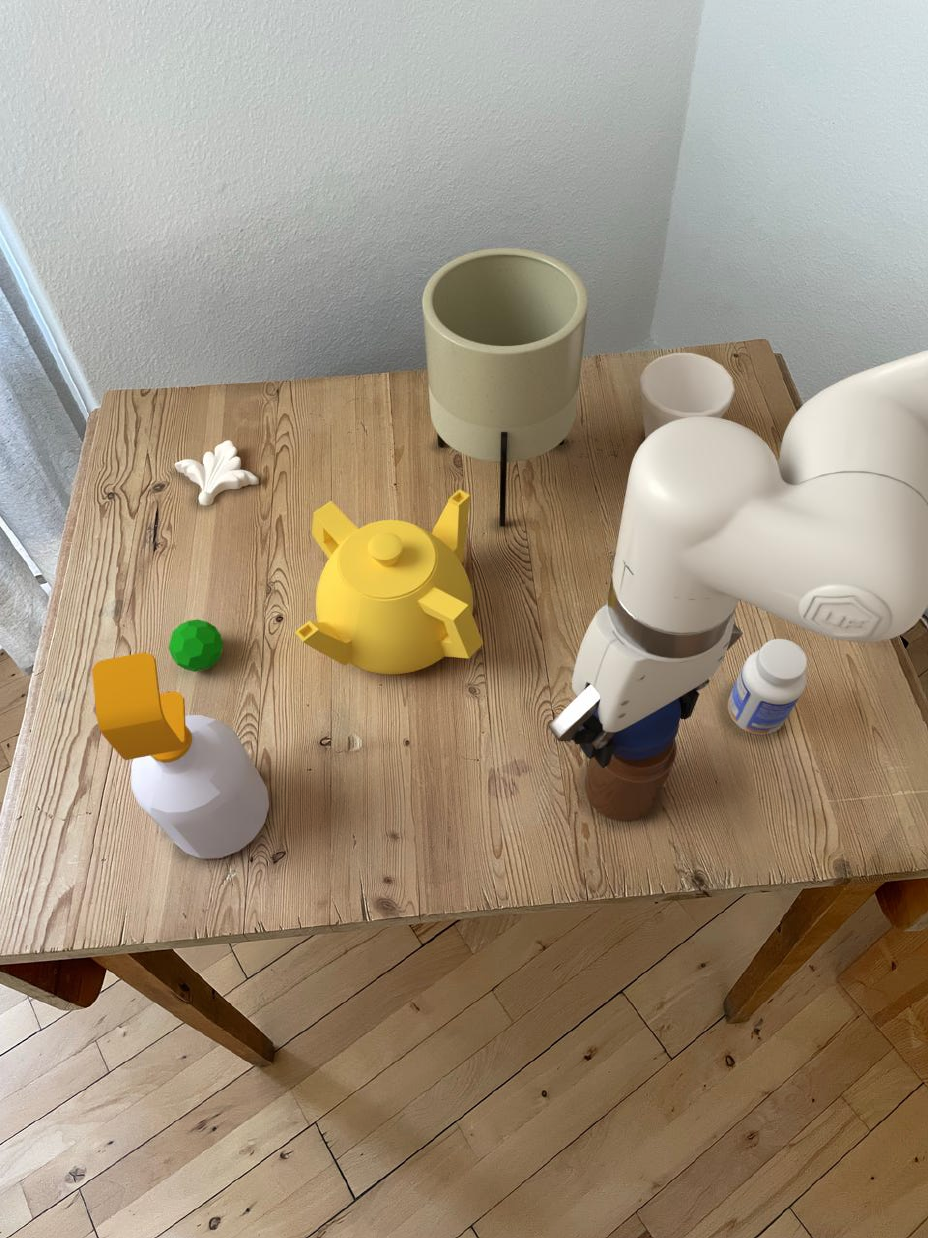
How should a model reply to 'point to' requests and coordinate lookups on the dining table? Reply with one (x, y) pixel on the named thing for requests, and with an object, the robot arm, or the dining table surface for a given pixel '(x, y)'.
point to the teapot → (393, 591)
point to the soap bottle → (179, 760)
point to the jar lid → (648, 733)
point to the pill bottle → (768, 687)
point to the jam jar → (628, 784)
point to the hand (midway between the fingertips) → (635, 726)
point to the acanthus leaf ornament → (217, 472)
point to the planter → (504, 354)
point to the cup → (683, 389)
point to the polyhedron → (195, 645)
